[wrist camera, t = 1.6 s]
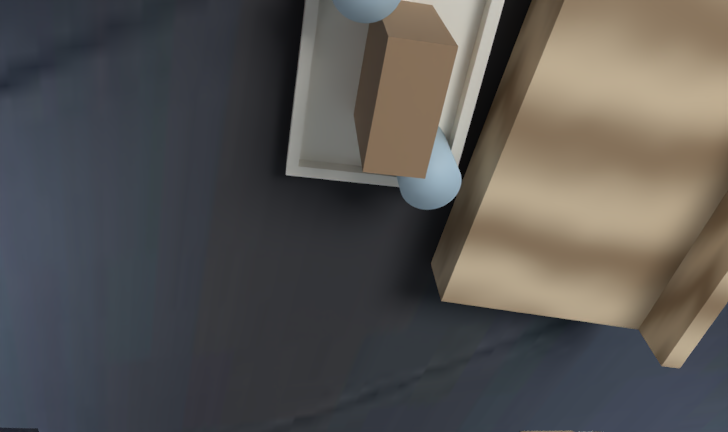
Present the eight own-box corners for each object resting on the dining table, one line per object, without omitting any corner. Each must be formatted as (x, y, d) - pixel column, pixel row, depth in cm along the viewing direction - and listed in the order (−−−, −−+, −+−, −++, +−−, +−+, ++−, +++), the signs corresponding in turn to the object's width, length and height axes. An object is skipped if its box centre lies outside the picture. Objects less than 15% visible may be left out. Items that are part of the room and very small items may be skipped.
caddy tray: (444, 176, 36) (471, 248, 30) (286, 158, 35) (283, 231, 29) (510, -68, 29) (561, -34, 24) (316, -102, 28) (319, -76, 22)
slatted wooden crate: (631, 294, 42) (679, 368, 37) (430, 263, 39) (451, 338, 34) (842, -51, 31) (958, -19, 25) (581, -130, 28) (649, -113, 22)
